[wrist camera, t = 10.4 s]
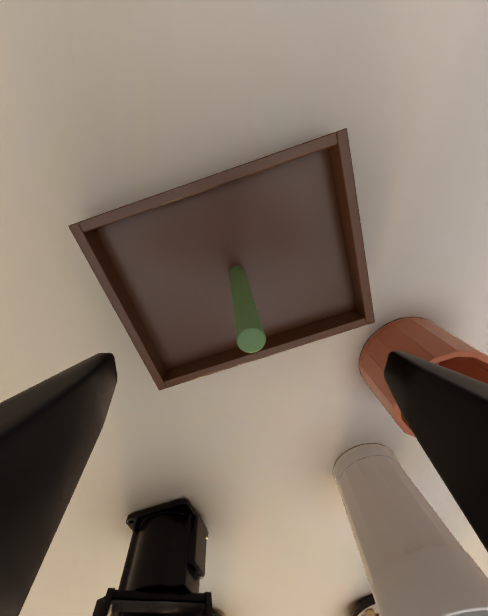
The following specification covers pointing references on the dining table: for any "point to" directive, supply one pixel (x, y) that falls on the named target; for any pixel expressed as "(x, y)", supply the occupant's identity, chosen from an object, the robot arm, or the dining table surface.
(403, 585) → the cup
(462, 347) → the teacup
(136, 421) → the dining table surface
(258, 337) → the straw
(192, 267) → the tray
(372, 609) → the spread jar
